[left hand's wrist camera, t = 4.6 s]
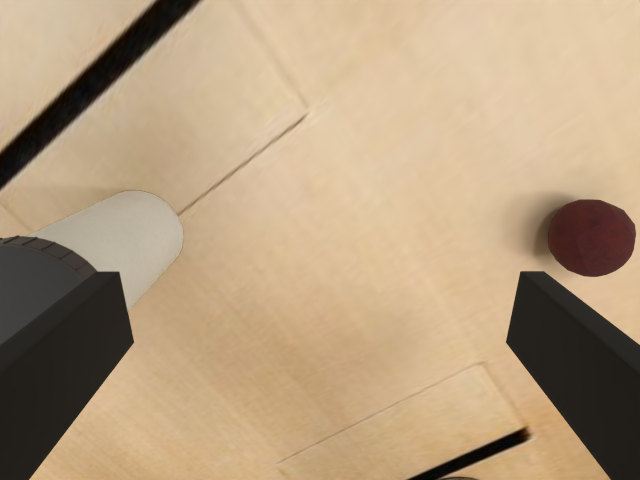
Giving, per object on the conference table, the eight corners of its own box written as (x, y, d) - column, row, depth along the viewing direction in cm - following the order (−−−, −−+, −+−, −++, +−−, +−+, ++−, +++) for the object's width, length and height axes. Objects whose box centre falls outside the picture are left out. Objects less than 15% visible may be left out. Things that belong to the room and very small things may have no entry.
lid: (61, 212, 24) (42, 221, 23) (145, 339, 28) (133, 355, 26) (-68, 266, 26) (-96, 278, 24) (27, 381, 29) (8, 399, 27)
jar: (156, 177, 39) (45, 230, 23) (198, 254, 42) (125, 347, 26) (80, 208, 40) (-76, 279, 24) (126, 281, 43) (15, 386, 28)
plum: (549, 269, 43) (591, 301, 36) (522, 215, 40) (561, 237, 34) (613, 235, 41) (669, 262, 35) (588, 177, 39) (643, 193, 32)
